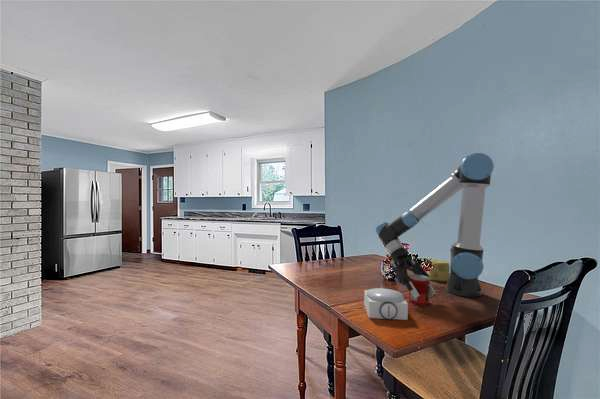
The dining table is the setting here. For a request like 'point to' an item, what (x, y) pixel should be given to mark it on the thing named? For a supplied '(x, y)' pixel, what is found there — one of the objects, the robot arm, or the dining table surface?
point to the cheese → (439, 270)
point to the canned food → (420, 289)
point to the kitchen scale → (385, 304)
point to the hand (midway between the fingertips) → (425, 295)
